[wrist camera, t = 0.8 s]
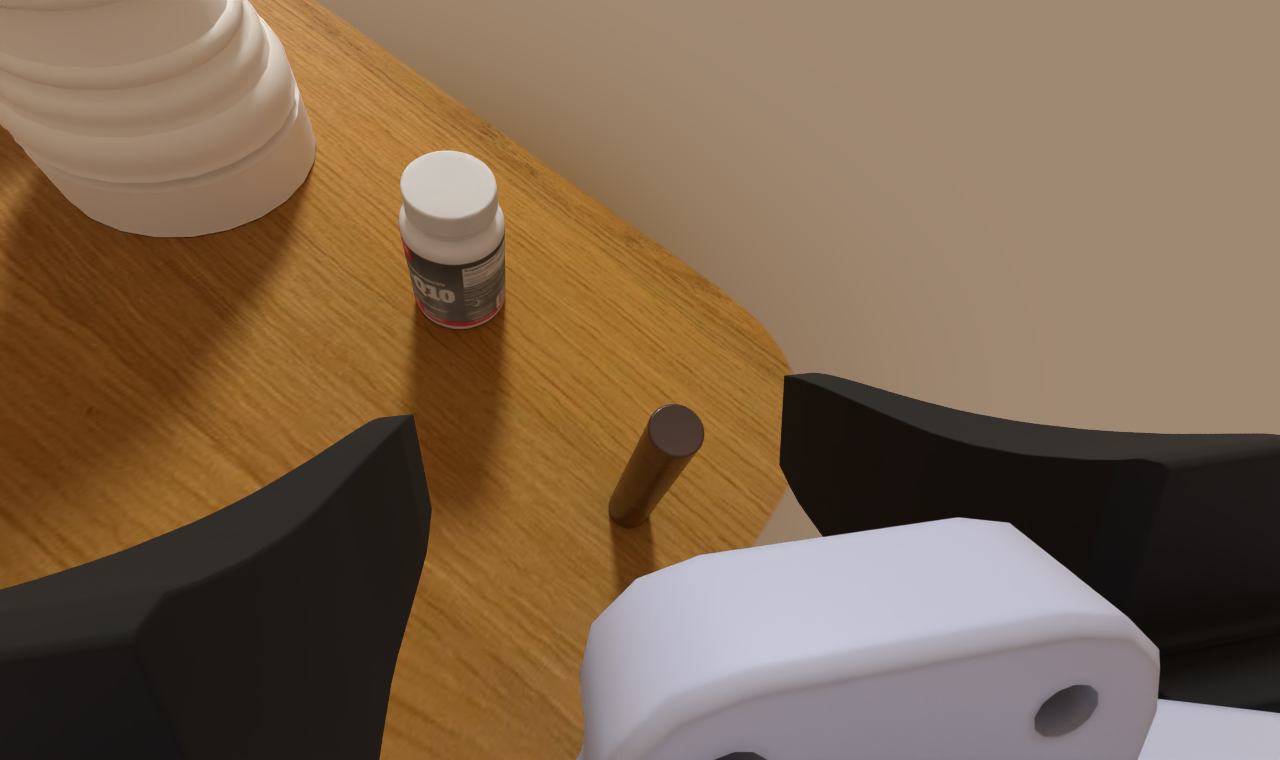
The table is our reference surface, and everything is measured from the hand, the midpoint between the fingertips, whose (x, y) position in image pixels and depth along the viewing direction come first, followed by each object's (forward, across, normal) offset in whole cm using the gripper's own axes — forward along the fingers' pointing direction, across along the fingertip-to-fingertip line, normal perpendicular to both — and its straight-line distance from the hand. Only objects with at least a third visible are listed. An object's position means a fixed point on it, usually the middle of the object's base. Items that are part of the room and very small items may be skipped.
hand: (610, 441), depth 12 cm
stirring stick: (+15, -2, +11) cm, 19 cm away
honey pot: (+30, +20, -6) cm, 37 cm away
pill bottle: (+24, +5, +2) cm, 24 cm away
